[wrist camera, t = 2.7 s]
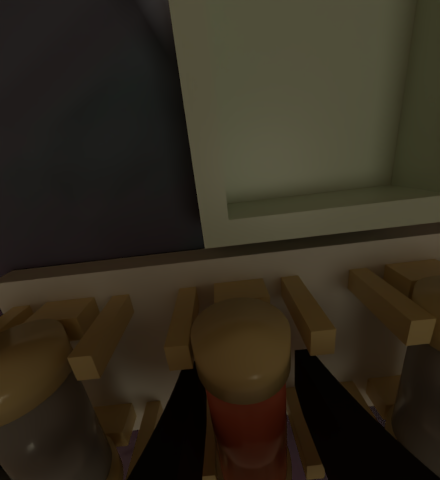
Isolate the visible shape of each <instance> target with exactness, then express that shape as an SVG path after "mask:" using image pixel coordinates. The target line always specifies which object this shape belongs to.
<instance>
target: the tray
mask: <svg viewBox="0 0 440 480" xmlns="http://www.w3.org/2000/svg"><path fill="white" fill-rule="evenodd" d="M168 1H169V8H170V15H171V21H172V28H173V35H174V42H175V49H176V55H177V62H178V69H179V76H180V83H181V89H182V96H183V103H184V110H185V117H186V123H187V130H188V137H189V144H190V151H191V158H192V164H193V171H194V178H195V185H196V192H197V198H198V205H199V212H200V219H201V226H202V232H203V239H204V246H205V249H207V248H216V247H224V246H233V245H242V244H251V243H260V242H268V241H277V240H286V239H295V238H303V237H312V236H321V235H330V234H338V233H347V232H356V231H365V230H374V229H382V228H391V227H400V226H409V225H417V224H426V223H435V222H440V0H168Z"/></svg>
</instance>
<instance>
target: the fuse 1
mask: <svg viewBox="0 0 440 480" xmlns="http://www.w3.org/2000/svg"><path fill="white" fill-rule="evenodd" d="M72 351H73V348H72V346H71V343H70V341H69V339H68V336H67V334H66V332H65V330H64V327H63V325H62V324H61V323H60V322H59V321H57V320H54V319H40V320H34V321H30V322H26V323H23V324H20V325H17V326H14V327H11V328H9V329H6V330H4V331H2V332H0V465H1V466H2V468H3V469H4V470H5V472H6V473H7V474H8V476H9V477H10V478H11V480H123V464H122V461H121V458H120V456H119V454H118V451H117V449H116V447H115V444H114V442H113V441H112V439H111V438H110V437H109V436H107V435H105V433H104V431H103V428H102V426H101V424H100V422H99V419H98V417H97V415H96V413H95V410H94V408H93V406H92V404H91V402H90V399H89V397H88V395H87V393H86V390H85V388H84V386H83V384H82V381H81V380H80V381H77V379H76V377H75V375H74V372H73V370H72V368H71V366H70V364H69V361H68V359H67V357H68V356H69V355H70V353H71V352H72Z"/></svg>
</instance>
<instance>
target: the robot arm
mask: <svg viewBox="0 0 440 480" xmlns="http://www.w3.org/2000/svg"><path fill="white" fill-rule="evenodd" d="M295 389H296V393H297V396H298V400H299V403H300V406H301V410H302V413H303V416H304V419H305V421H306V424H307V426H308V429H309V432H310V434H311V437H312V439H313V442H314V444H315V447H316V449H317V452H318V455H319V457H320V460H321V462H322V465H323V467H324V470H325V472H326V475H327V477H328V480H440V478H439V477H438V476H437V475H436V474H435V473H434V472H432V471H431V470H430V469H429V468H428V467H427V466H425V465H424V464H423V463H422V462H421V461H420V460H419V459H417V458H416V457H415V456H414V455H413V454H412V453H411V452H410V451H408V450H407V449H406V448H405V447H404V446H403V445H402V444H401V443H400V442H399V441H397V440H396V439H395V438H394V437H393V436H392V435H391V434H390V433H389V432H388V431H387V430H386V429H385V428H384V427H383V426H382V425H381V424H380V423H378V422H377V421H376V420H375V419H374V418H373V417H372V416H371V415H370V414H369V413H368V412H367V411H366V410H365V409H364V408H363V407H362V406H361V405H360V404H359V403H358V401H357V400H356V399H355V398H354V397H353V396H352V395H351V394H350V393H349V392H348V391H347V390H346V389H345V388H344V387H343V386H342V385H341V383H340V382H339V381H338V380H337V379H336V378H335V377H334V376H333V375H332V373H331V372H330V371H329V370H328V369H327V368H326V367H325V365H324V364H323V363H322V362H321V361H320V360H319V358H318V357H317V356H310V354H309V352H308V350H307V349H301V350H295ZM206 427H207V395H206V390H205V387H204V386H203V384H202V383H201V381H200V379H199V377H198V373H197V369H196V364H195V361H194V363H193V369H184V370H181V372H180V374H179V377H178V379H177V382H176V384H175V387H174V389H173V391H172V394H171V396H170V398H169V400H168V402H167V404H166V407H165V409H164V411H163V413H162V415H161V417H160V419H159V421H158V423H157V425H156V427H155V429H154V431H153V433H152V435H151V437H150V439H149V441H148V443H147V444H146V446H145V448H144V450H143V452H142V454H141V456H140V457H139V459H138V461H137V463H136V465H135V466H134V468H133V470H132V471H131V473H130V475H129V477H128V478H127V480H202V476H203V464H204V452H205V439H206Z"/></svg>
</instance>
